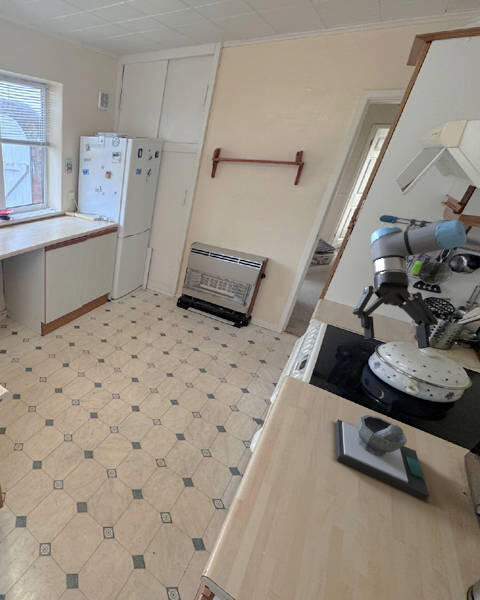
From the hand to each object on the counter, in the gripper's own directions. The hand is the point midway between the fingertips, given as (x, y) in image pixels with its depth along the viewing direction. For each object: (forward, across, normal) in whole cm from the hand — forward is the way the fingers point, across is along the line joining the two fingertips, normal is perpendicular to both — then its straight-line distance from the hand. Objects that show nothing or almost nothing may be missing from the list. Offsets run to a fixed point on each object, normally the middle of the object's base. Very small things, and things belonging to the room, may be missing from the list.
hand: (396, 343), depth 91 cm
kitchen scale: (+32, +2, -7) cm, 33 cm away
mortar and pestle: (+29, +4, -6) cm, 30 cm away
